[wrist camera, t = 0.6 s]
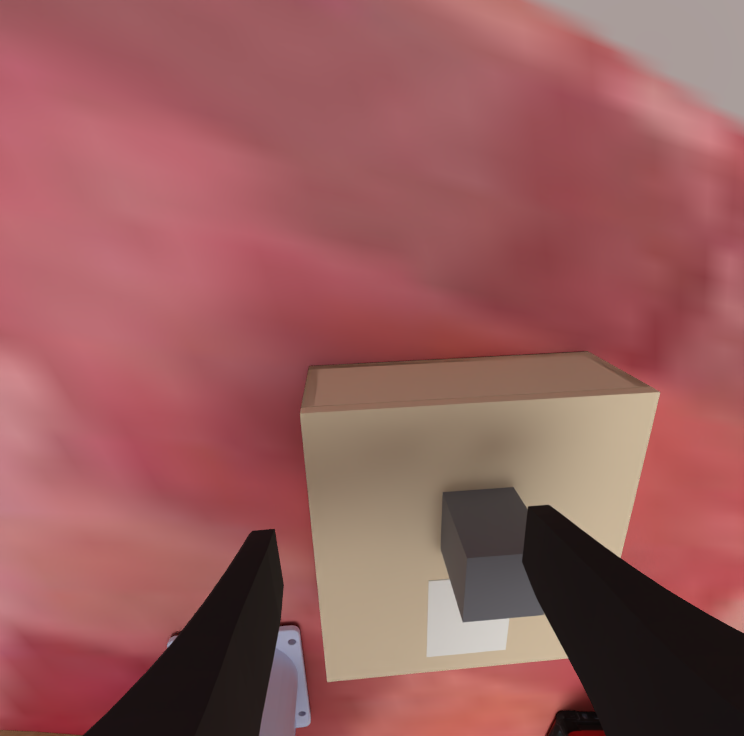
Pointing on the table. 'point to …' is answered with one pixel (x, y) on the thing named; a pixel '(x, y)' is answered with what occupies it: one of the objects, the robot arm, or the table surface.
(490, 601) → the carton lid
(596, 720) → the handheld game console
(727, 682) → the robot arm
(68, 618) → the table surface
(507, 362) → the carton
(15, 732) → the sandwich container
